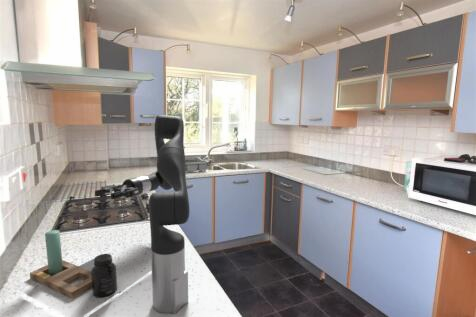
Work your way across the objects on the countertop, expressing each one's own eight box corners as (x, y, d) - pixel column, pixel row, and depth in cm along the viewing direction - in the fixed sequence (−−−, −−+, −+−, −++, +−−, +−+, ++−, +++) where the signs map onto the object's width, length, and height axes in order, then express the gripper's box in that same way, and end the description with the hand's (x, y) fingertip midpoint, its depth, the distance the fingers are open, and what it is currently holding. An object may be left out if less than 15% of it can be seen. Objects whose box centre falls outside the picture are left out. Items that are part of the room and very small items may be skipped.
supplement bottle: (89, 293, 87) (86, 256, 85) (112, 284, 91) (110, 249, 90) (97, 304, 82) (94, 265, 80) (121, 294, 87) (119, 257, 85)
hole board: (102, 284, 92) (102, 275, 91) (72, 301, 83) (72, 291, 82) (61, 267, 101) (60, 258, 101) (30, 281, 93) (29, 272, 92)
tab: (113, 265, 103) (113, 263, 103) (91, 278, 95) (90, 275, 95) (97, 259, 107) (96, 257, 107) (74, 271, 99) (73, 268, 99)
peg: (66, 276, 95) (62, 231, 93) (53, 282, 92) (49, 236, 90) (59, 273, 97) (55, 229, 95) (46, 279, 94) (42, 233, 91)
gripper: (124, 175, 120) (89, 183, 106) (149, 179, 114) (116, 187, 100) (125, 193, 121) (90, 202, 107) (150, 197, 115) (117, 207, 101)
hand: (103, 195), depth 103 cm, fingers open, 8 cm apart
